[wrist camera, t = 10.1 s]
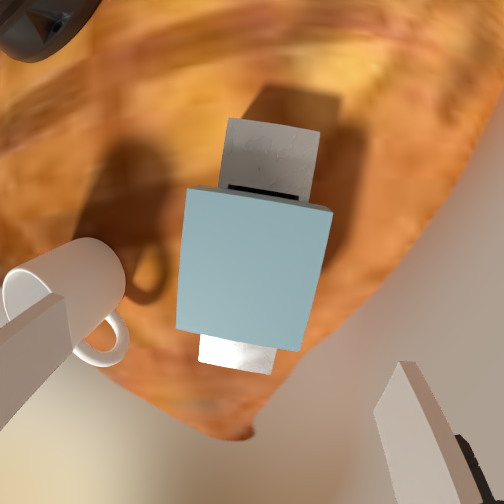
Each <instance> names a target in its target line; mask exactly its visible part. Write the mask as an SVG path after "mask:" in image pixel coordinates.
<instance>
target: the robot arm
mask: <svg viewBox="0 0 504 504" xmlns="http://www.w3.org/2000/svg"><path fill="white" fill-rule="evenodd" d="M99 1H100V0H0V49H1V50H2V51H3V52H4V53H6V54H7V55H8V56H9V57H10V58H12V59H14V60H18V61H22V62H25V63H35V62H39V61H41V60H44V59H46V58H48V57H49V56H51V55H53V54H54V53H56V52H57V51H58V50H60V49H61V48H62V47H63V46H64V45H65V44H67V43H68V42H69V41H70V40H71V39H72V38H73V37H74V36H75V35H76V34H77V32H78V31H79V30H80V29H81V28H82V27H83V25H84V24H85V23H86V21H87V20H88V19H89V17H90V16H91V14H92V13H93V11H94V10H95V8H96V6H97V4H98V3H99ZM72 352H73V347H72V342H71V336H70V331H69V324H68V318H67V311H66V303H65V297H64V296H61V295H58V294H55V293H50V294H49V295H47V296H46V297H44V298H43V299H41V300H40V301H38V302H37V303H35V304H34V305H32V306H31V307H29V308H28V309H27V310H25V311H24V312H22V313H21V314H19V315H18V316H17V317H15V318H14V319H12V320H11V321H10V322H9V323H7V324H6V325H4V326H3V327H2V328H0V431H1V430H2V429H3V427H4V426H5V425H6V424H7V423H8V422H9V420H10V419H11V418H12V417H13V416H14V415H15V414H16V412H17V411H18V410H19V409H20V408H21V407H22V406H23V404H24V403H25V402H26V401H27V400H28V399H29V398H30V397H31V396H32V394H34V392H35V391H36V390H37V389H38V388H39V387H40V386H41V385H42V384H43V383H44V382H45V380H46V379H47V378H48V377H49V376H50V375H51V374H52V373H53V372H54V371H55V370H56V369H57V368H58V367H59V365H61V364H62V362H64V361H65V359H66V358H67V357H68V356H69V355H70V354H71V353H72ZM373 414H374V418H375V421H376V424H377V428H378V431H379V435H380V439H381V442H382V446H383V449H384V453H385V457H386V461H387V465H388V469H389V472H390V477H391V481H392V484H393V489H394V493H395V497H396V502H397V504H504V501H500V500H497V501H495V499H494V497H493V496H492V493H491V491H490V488H489V486H488V484H487V481H486V479H485V477H484V475H483V472H482V470H481V468H480V466H478V461H477V459H476V458H474V453H473V451H472V449H471V447H470V445H469V443H468V442H467V441H466V440H465V439H464V438H463V437H462V436H461V435H460V434H459V435H454V434H453V432H452V430H451V428H450V426H449V424H448V422H447V420H446V418H445V416H444V414H443V412H442V410H441V408H440V406H439V405H438V402H437V401H436V399H435V397H434V395H433V393H432V391H431V390H430V388H429V386H428V384H427V382H426V380H425V379H424V377H423V375H422V373H421V371H420V370H419V368H418V366H417V365H416V363H415V362H404V361H399V362H398V364H397V366H396V368H395V370H394V372H393V374H392V377H391V378H390V380H389V382H388V384H387V386H386V388H385V390H384V392H383V394H382V396H381V398H380V400H379V402H378V403H377V405H376V407H375V409H374V411H373Z"/></svg>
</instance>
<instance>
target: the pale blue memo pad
mask: <svg viewBox="0 0 504 504" xmlns="http://www.w3.org/2000/svg"><path fill="white" fill-rule="evenodd" d="M332 217H333V212H332V211H331V210H330V209H329V208H328V207H327V206H323V205H318V204H313V203H307V202H302V201H297V200H291V199H286V198H280V197H274V196H268V195H262V194H256V193H250V192H244V191H238V190H231V189H224V188H218V187H211V186H204V185H198V186H194V187H190V188H187V195H186V203H185V212H184V222H183V232H182V243H181V254H180V267H179V280H178V296H177V314H176V329H180V330H184V331H188V332H193V333H197V334H202V335H207V336H211V337H216V338H221V339H226V340H231V341H237V342H242V343H247V344H253V345H259V346H265V347H271V348H277V349H283V350H290V351H297V352H299V351H300V347H301V344H302V340H303V337H304V333H305V329H306V326H307V322H308V318H309V315H310V311H311V307H312V303H313V299H314V295H315V292H316V288H317V283H318V279H319V275H320V271H321V267H322V263H323V258H324V254H325V250H326V245H327V241H328V236H329V231H330V227H331V222H332Z"/></svg>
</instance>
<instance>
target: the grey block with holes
mask: <svg viewBox="0 0 504 504" xmlns="http://www.w3.org/2000/svg"><path fill="white" fill-rule="evenodd" d="M320 133H321V132H318V131H313V130H308V129H303V128H298V127H292V126H286V125H280V124H274V123H267V122H261V121H253V120H246V119H238V118H228V124H227V130H226V136H225V142H224V149H223V155H222V162H221V169H220V176H219V183H218V188H224V189H231V190H235V187H236V185H238V186H244V187H251V188H257V189H263V190H269V191H275V192H280V193H286V194H292V195H296V196H295V200H297V201H302V202H307V203H308V202H309V197H310V191H311V186H312V180H313V175H314V169H315V163H316V157H317V151H318V145H319V139H320ZM276 351H277V348H271V347H265V346H259V345H253V344H247V343H242V342H237V341H231V340H226V339H221V338H216V337H211V336H207V335H202V334H201V341H200V353H199V361H201V362H205V363H210V364H214V365H219V366H224V367H229V368H234V369H240V370H245V371H251V372H257V373H263V374H269V375H271V371H272V367H273V363H274V359H275V355H276Z"/></svg>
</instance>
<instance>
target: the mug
mask: <svg viewBox="0 0 504 504" xmlns="http://www.w3.org/2000/svg"><path fill="white" fill-rule="evenodd" d="M125 287H126V280H125V273H124V270H123V267H122V264H121V262H120V260H119V258H118V257H117V255H116V254H115V252H114V251H113V250H112V249H111V248H110V247H109V246H108V245H106V244H105V243H104V242H102V241H100V240H97V239H95V238H90V237H85V238H79V239H76V240H73V241H71V242H68V243H66V244H64V245H62V246H60V247H57V248H55V249H53V250H51V251H49V252H46V253H44V254H42V255H40V256H38V257H36V258H34V259H32V260H30V261H28V262H26V263H23V264H21V265H19V266H17V267H15V268H13V269H12V270H10V271H9V272H8V274H7V275H6V277H5V279H4V282H3V289H2V296H3V303H4V307H5V311H6V314H7V316H8V319H9V321H11V320H12V319H14V318H15V317H17V316H18V315H19V314H21V313H22V312H24V311H25V310H27V309H28V308H29V307H31V306H32V305H34V304H35V303H37V302H38V301H40V300H41V299H43V298H44V297H46V296H47V295H49V294H50V293H55V294H58V295H61V296H64V297H65V303H66V311H67V318H68V324H69V331H70V336H71V342H72V347H73V353H75V354H76V355H77V356H78V357H79V358H81V359H82V360H84V361H85V362H87V363H89V364H92V365H94V366H99V367H107V366H112V365H114V364H116V363H118V362H120V361H121V360H122V359H123V358H124V356H125V355H126V353H127V351H128V348H129V343H130V339H129V331H128V328H127V326H126V324H125V322H124V320H123V318H122V317H121V316H120V314H119V313H118V312H117V311H116V309H115V308H116V307H117V306H118V305H119V303H120V302H121V300H122V298H123V296H124V293H125ZM104 319H106V320H107V321H108V322H109V324H110V325H111V326H112V327H113V329H114V331H115V333H116V337H117V341H116V344H115V346H114V347H113V348H112V349H111V350H109V351H105V352H102V351H98V350H96V349H94V348H93V347H92V346H90V345H89V344H88V343H87V342H86V341H85V339H84V338H86V337H87V336H88V335H89V334H90V333H91V332H92V331H93V330H94V329H95V328H96V327H97V326H98V325H99V324H100V323H101V322H102V321H103V320H104Z"/></svg>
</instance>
